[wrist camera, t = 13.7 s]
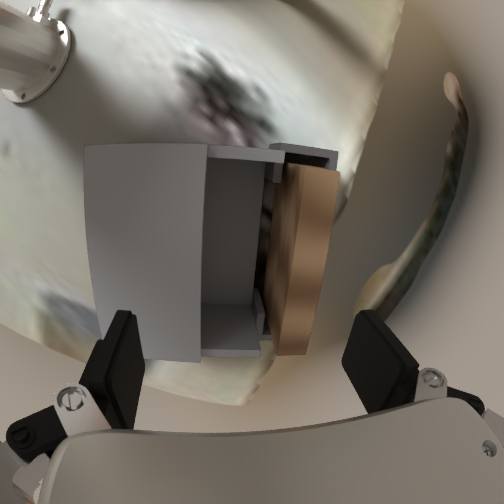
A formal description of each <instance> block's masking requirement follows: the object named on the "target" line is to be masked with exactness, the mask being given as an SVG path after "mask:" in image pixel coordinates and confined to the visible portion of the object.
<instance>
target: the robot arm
mask: <svg viewBox="0 0 504 504" xmlns="http://www.w3.org/2000/svg"><path fill="white" fill-rule="evenodd" d="M52 2H53V0H41V1H40V4H39V7H38V11H37V13H35V11H36V8H35V7H31V8H29V9H28V11H27V13H26V14H25V13H23V12H21V11H19V10H17V9H15V8H14V7H12V6H10V5H8V4H6V3H4V2H2V1H0V88H1V90H2V92H3V95H4V96H5V97H6V98H7V99H8V100H9V101H11V102H15V103H25V102H29V101H31V100H34V99H35V98H37V97H38V96H40V95H41V94H42V93H44V92H45V91H46V90H47V89H48V88H49V87H50V86H51V85H52V83H53V82H54V81H55V79H56V78H57V77H58V75H59V74H60V72H61V70H62V69H63V67H64V65H65V62H66V60H67V58H68V54H69V51H70V45H71V35H70V31H69V29H68V27H67V26H66V25H65V24H64V23H63V22H62V21H60V20H58V19H53V18H50V19H48V18H49V15H50V14H49V13H48V11H49V8H50V7H51V4H52ZM342 366H343V368H344V370H345V372H346V373H347V375H348V377H349V379H350V381H351V383H352V384H353V386H354V388H355V390H356V392H357V394H358V396H359V398H360V399H361V401H362V403H363V405H364V407H365V409H366V411H367V413H368V414H366V415H362V416H358V417H353V418H348V419H343V420H338V421H333V422H327V423H321V424H315V425H309V426H302V427H294V428H286V429H277V430H266V431H251V432H231V433H186V432H185V433H184V432H183V433H182V432H161V431H148V430H133V428H134V423H135V417H136V411H137V406H138V401H139V396H140V391H141V386H142V381H143V376H144V372H145V362H144V357H143V352H142V346H141V341H140V335H139V329H138V323H137V317H136V315H135V314H132V312H131V311H130V310H117V311H116V313H115V316H114V318H113V320H112V322H111V324H110V326H109V328H108V331H107V333H106V335H105V337H104V339H103V340H100V339H99V340H98V341H97V342H96V344H95V347H94V349H93V351H92V353H91V355H90V358H89V360H88V362H87V364H86V367H85V369H84V372H83V374H82V376H81V379H80V381H79V384H76V383H70V384H66V385H64V386H61V387H60V388H59V389H57V390H56V392H55V394H54V395H53V404H54V405H52V406H50V407H48V408H45V409H43V410H41V411H39V412H37V413H34V414H32V415H30V416H28V417H26V418H23V419H21V420H18V421H16V422H14V423H13V424H11V425H10V427H9V428H8V430H7V433H6V441H5V442H4V443H2V442H1V441H0V504H35V503H34V500H33V493H34V491H35V489H36V488H37V487H38V486H39V485H40V483H39V481H40V480H41V479H42V478H43V482H42V486H41V490H40V495H39V500H38V504H504V418H503V417H501V416H499V415H498V414H496V413H494V412H493V411H491V410H489V409H487V410H486V411H485V408H484V404H483V402H482V401H481V400H480V398H479V397H477V396H475V395H472V394H469V393H466V392H463V391H460V390H457V389H454V388H451V387H448V386H447V379H446V377H445V376H444V374H443V373H442V372H440V371H439V370H436V369H434V368H424V369H422V370H421V371H419V370H418V367H419V364H418V362H417V361H416V360H415V359H414V357H413V356H412V355H411V354H410V353H409V351H408V350H407V349H406V348H405V346H403V344H402V343H401V342H400V340H399V339H398V338H397V337H396V336H395V334H394V333H393V332H392V331H391V330H390V328H389V327H388V326H387V325H386V324H385V323H384V321H383V320H382V319H381V318H380V317H379V316H378V314H377V313H376V312H375V311H374V310H361V311H360V312H359V314H357V315H356V317H355V320H354V323H353V327H352V330H351V333H350V336H349V339H348V342H347V345H346V348H345V351H344V354H343V357H342Z"/></svg>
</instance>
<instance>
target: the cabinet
mask: <svg viewBox="0 0 504 504" xmlns="http://www.w3.org/2000/svg"><path fill="white" fill-rule="evenodd" d="M285 153H292V154H299V155H307V156H311V164H310V165H311V166H316V167H320V168H325V169H329V170H334V171H336V168H337V160H338V151H332V150H327V149H320V148H314V147H308V146H301V145H293V144H286V143H275V144H270V148H269V149H262V148H251V147H239V146H225V145H208V144H187V143H128V144H104V145H89V146H85V147H84V208H85V226H86V239H87V249H88V258H89V267H90V274H91V281H92V288H93V294H94V300H95V305H96V311H97V316H98V321H99V325H100V330H101V335H102V339H104V337H105V335H106V333H107V331H108V328H109V326H110V324H111V322H112V320H113V318H114V316H115V313H116V311H117V310H130V311H131V312H132V314H135V315H136V317H137V323H138V329H139V335H140V341H141V346H142V352H143V357H144V358H145V359H155V360H167V361H181V362H198V363H201V356H208V357H260V352H261V349H260V344H259V340H272V336H271V333H270V329H269V326H268V322H267V318H266V315H265V311H264V307H263V304H262V300H261V296H260V293H259V289H258V288H253V286H254V276H255V266H256V257H257V247H258V237H259V227H260V217H261V207H262V197H263V187H264V177H265V178H266V179H268V180H270V181H271V182H274V183H281V177H282V168H283V163H284V158H285Z"/></svg>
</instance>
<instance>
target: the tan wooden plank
mask: <svg viewBox="0 0 504 504" xmlns="http://www.w3.org/2000/svg"><path fill="white" fill-rule="evenodd" d="M339 177H340V172H338V171H334V170H329V169H325V168H320V167H316V166H311V165H306V164H300V163H292V162H284V163H283V168H282V177H281V183H275V191H274V200H273V210H272V219H271V228H270V237H269V246H268V254H267V263H266V272H265V280H264V288H263V297H262V304H263V307H264V311H265V315H266V318H267V322H268V326H269V329H270V333H271V336H272V340H273V344H274V347H275V351H276V354H277V356H280V355H305V354H306V350H307V346H308V342H309V337H310V334H311V330H312V325H313V321H314V317H315V312H316V308H317V303H318V299H319V294H320V289H321V284H322V280H323V275H324V269H325V264H326V258H327V254H328V248H329V243H330V237H331V231H332V225H333V219H334V212H335V206H336V199H337V192H338V185H339Z"/></svg>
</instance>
